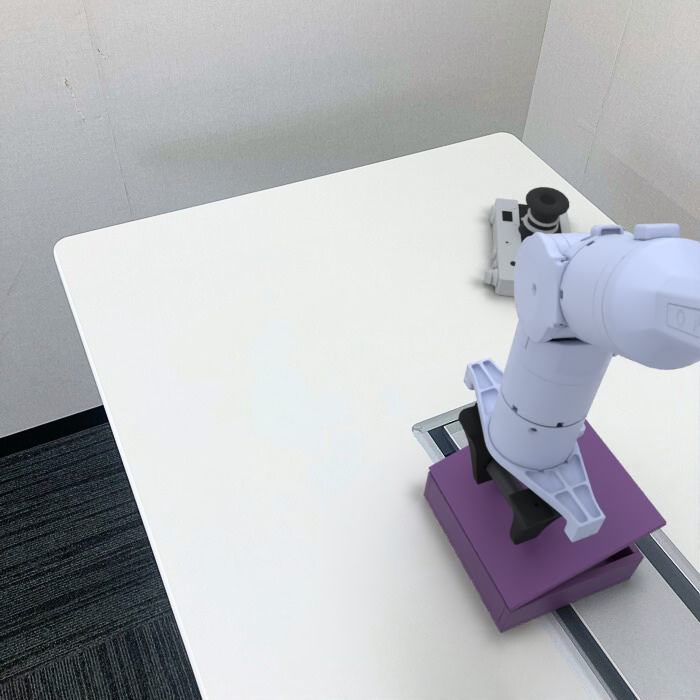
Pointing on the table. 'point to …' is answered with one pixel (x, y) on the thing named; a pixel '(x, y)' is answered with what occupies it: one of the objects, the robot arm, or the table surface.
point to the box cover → (552, 543)
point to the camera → (522, 230)
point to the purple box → (559, 596)
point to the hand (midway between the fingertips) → (505, 507)
